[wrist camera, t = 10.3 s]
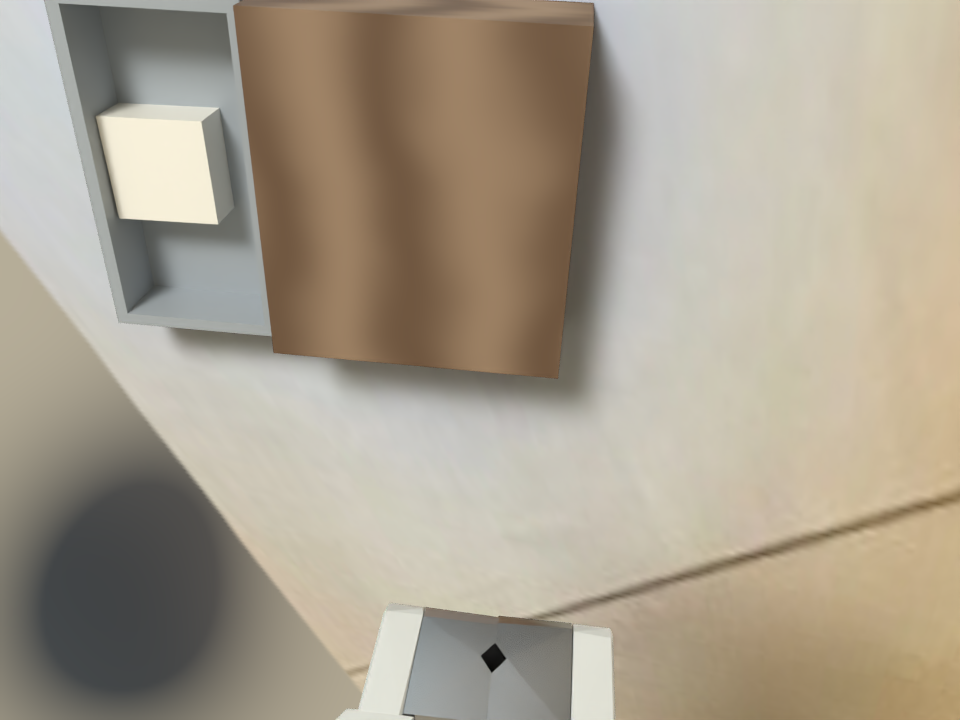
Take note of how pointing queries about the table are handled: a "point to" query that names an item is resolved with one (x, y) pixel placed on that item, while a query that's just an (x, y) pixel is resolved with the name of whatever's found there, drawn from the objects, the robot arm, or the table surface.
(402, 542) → the table surface
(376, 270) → the walnut block
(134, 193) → the tile
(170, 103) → the box
